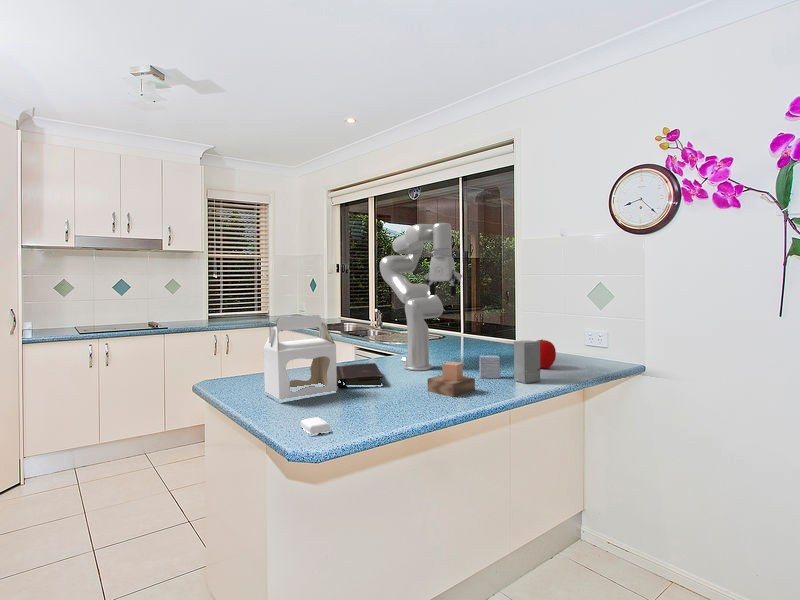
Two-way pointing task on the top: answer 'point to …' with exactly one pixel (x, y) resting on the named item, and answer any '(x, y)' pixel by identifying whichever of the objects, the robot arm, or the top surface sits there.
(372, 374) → the diary
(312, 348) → the gable box
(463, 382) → the walnut block
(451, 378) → the terracotta cube
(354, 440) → the top surface
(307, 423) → the soap
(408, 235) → the robot arm
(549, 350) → the tomato
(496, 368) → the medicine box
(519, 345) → the tall grey block
